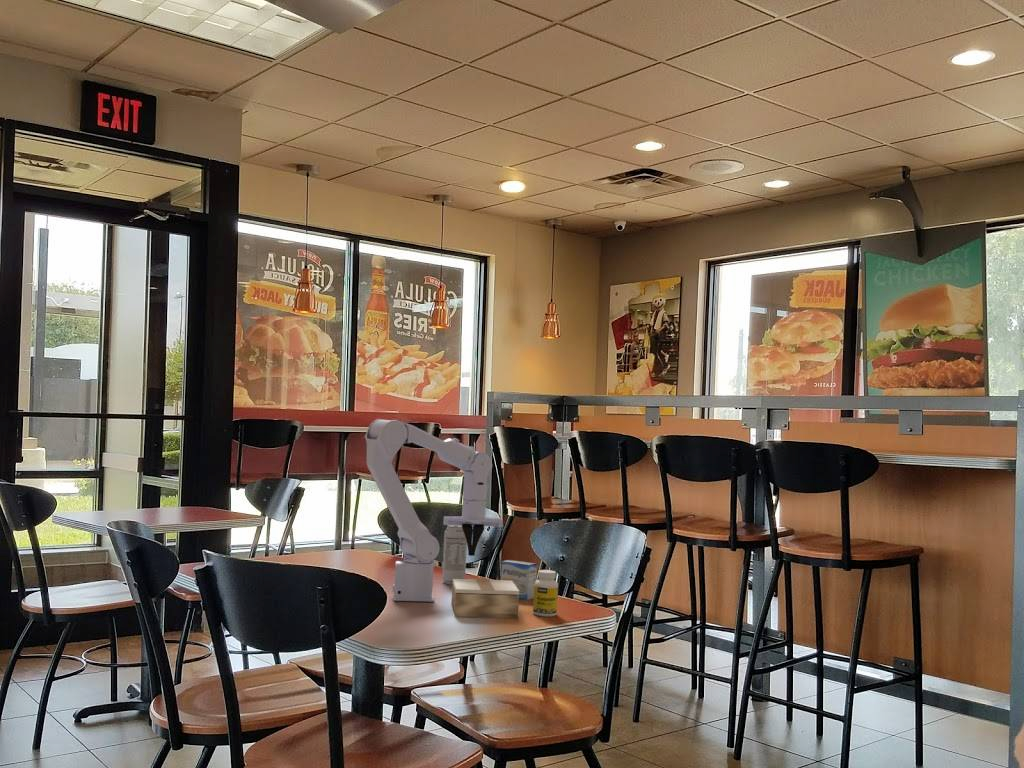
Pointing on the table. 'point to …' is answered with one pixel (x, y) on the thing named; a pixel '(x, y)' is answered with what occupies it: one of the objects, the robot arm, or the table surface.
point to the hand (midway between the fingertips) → (471, 555)
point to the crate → (484, 605)
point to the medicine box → (520, 577)
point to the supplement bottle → (545, 594)
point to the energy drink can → (454, 554)
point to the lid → (485, 586)
